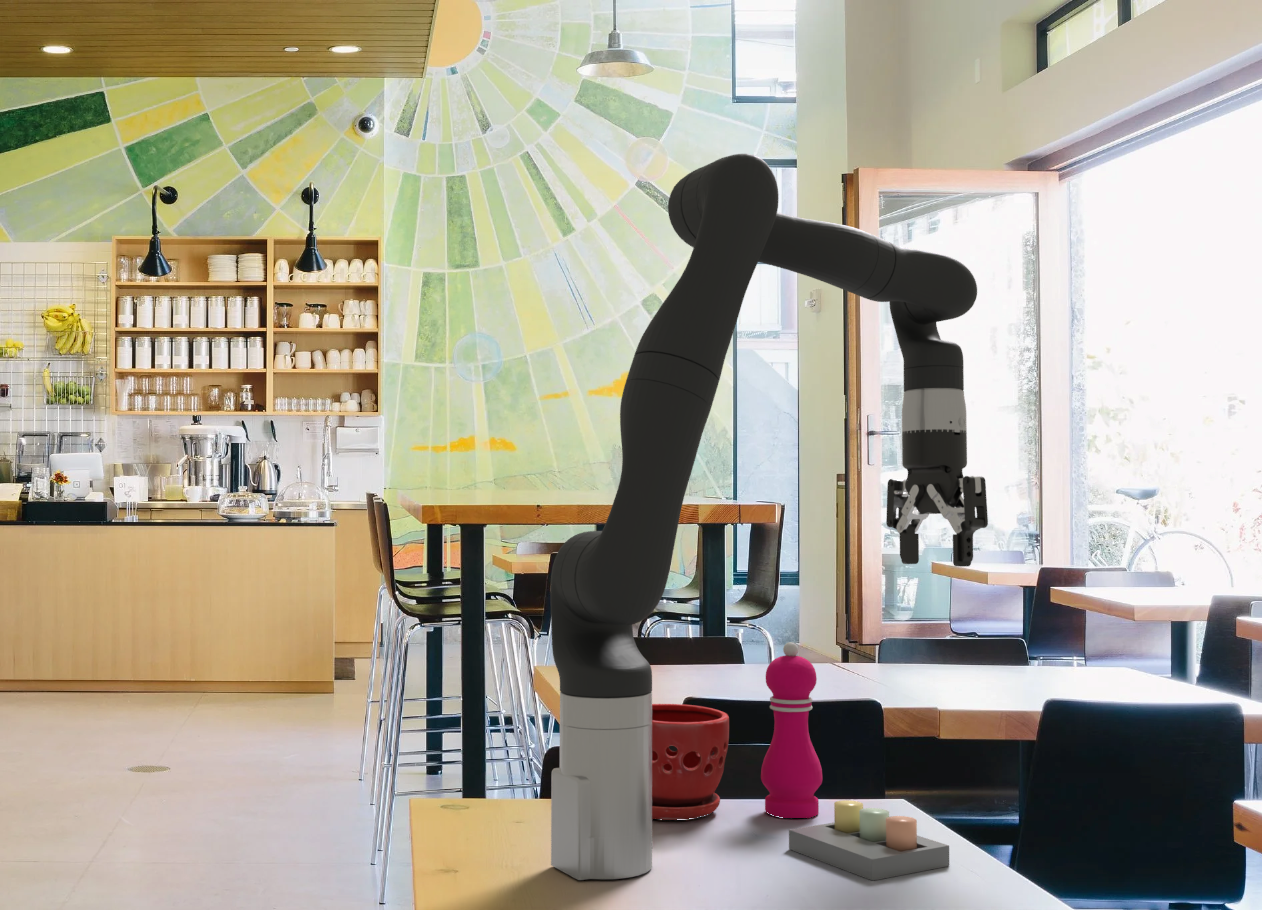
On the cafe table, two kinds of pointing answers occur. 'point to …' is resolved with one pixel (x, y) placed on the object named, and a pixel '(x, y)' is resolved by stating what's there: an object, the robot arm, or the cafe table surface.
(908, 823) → the terracotta button
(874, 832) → the sage button
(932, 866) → the panel
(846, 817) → the ochre button
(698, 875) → the cafe table surface
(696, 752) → the plant pot
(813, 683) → the pepper mill
